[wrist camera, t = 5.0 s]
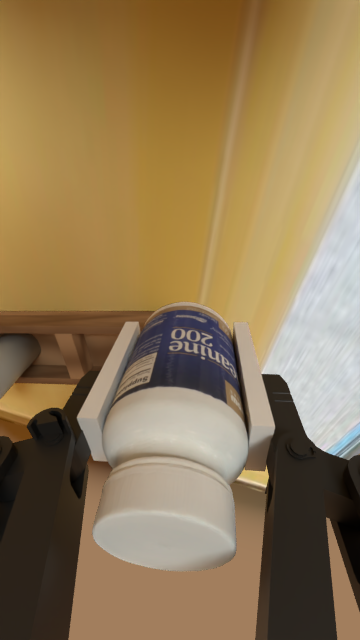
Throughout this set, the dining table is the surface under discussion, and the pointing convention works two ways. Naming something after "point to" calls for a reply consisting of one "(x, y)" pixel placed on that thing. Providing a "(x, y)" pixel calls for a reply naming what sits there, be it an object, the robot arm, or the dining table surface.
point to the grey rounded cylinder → (16, 357)
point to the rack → (69, 340)
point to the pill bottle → (174, 446)
